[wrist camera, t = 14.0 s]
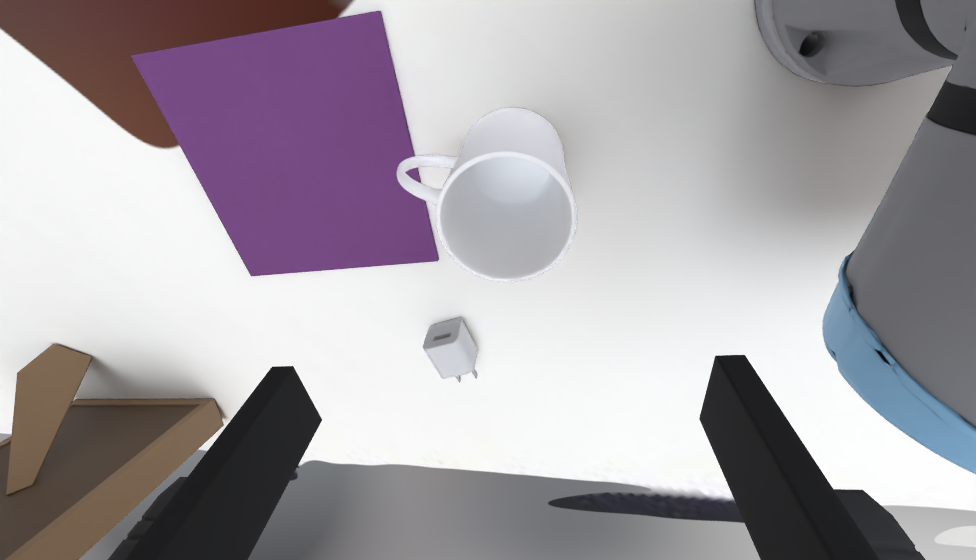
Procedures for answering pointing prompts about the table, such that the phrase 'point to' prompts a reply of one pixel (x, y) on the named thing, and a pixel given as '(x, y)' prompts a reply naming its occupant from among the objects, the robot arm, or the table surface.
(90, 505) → the photo frame
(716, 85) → the table surface
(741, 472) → the robot arm
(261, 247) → the cloth
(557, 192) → the mug
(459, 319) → the usb wall charger
